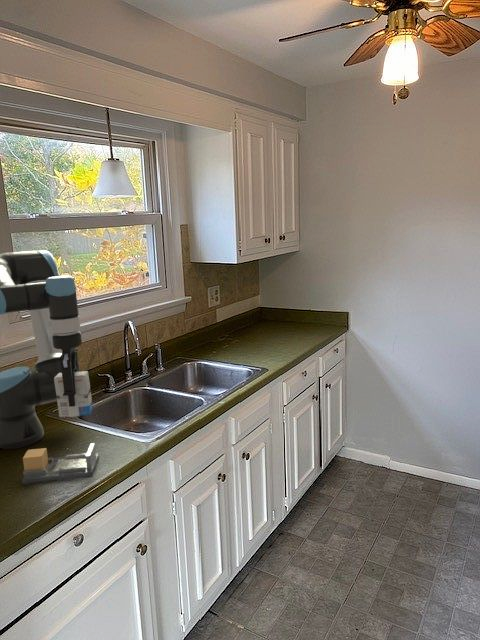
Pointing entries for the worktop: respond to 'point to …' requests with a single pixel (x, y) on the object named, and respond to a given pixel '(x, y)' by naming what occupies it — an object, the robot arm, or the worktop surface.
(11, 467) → the worktop surface
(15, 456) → the worktop surface
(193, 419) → the worktop surface
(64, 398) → the ink box
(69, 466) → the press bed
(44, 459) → the tan wooden cube
